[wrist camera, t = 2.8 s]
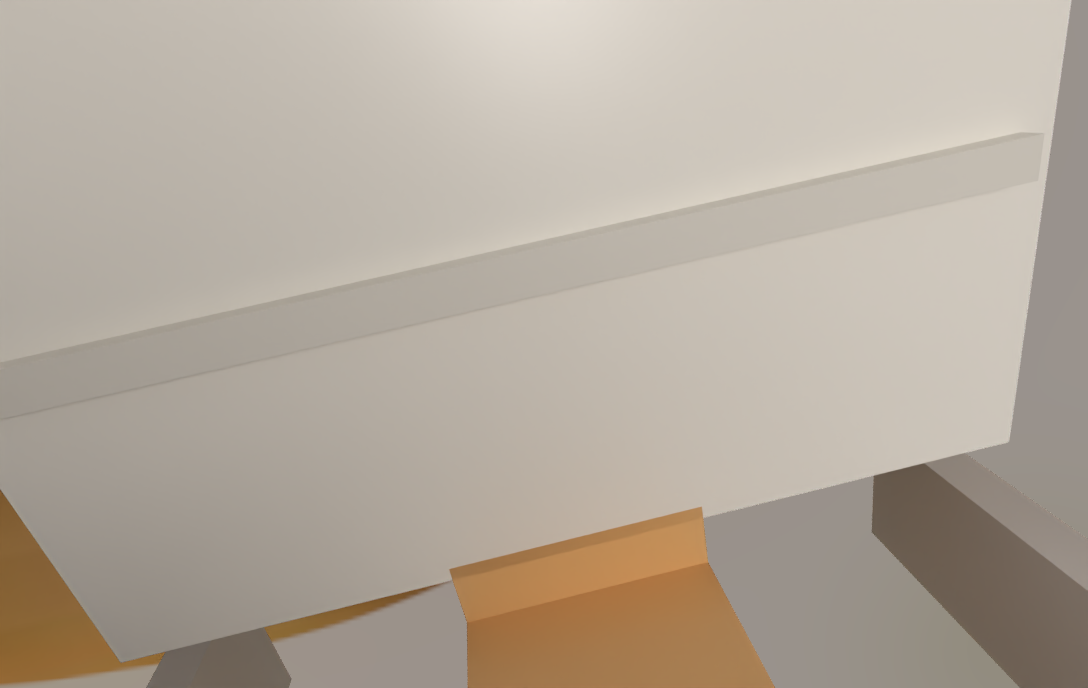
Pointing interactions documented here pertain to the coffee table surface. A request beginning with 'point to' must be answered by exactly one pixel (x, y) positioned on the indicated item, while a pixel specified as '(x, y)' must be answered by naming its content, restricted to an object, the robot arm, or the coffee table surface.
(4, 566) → the coffee table surface
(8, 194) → the lid
